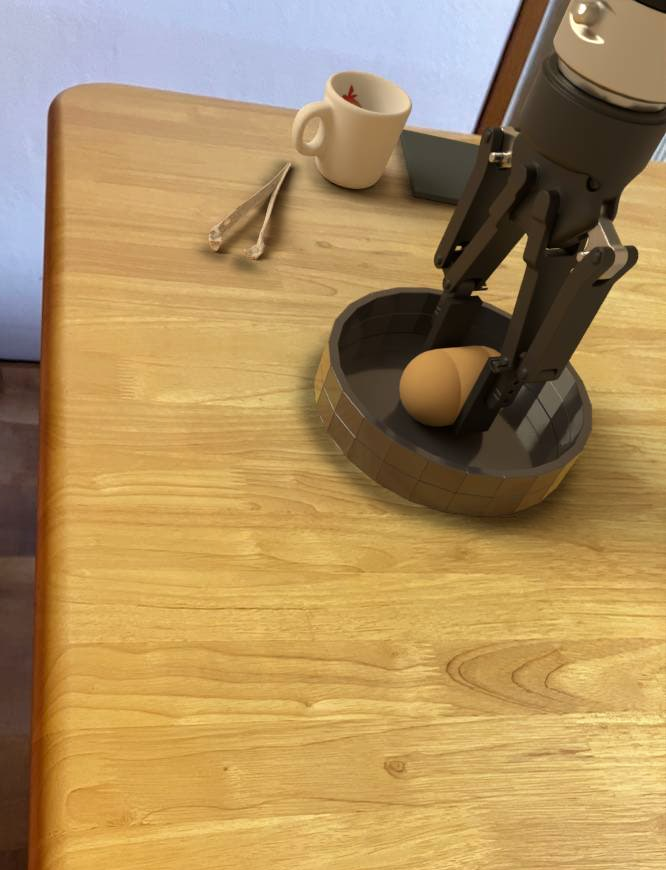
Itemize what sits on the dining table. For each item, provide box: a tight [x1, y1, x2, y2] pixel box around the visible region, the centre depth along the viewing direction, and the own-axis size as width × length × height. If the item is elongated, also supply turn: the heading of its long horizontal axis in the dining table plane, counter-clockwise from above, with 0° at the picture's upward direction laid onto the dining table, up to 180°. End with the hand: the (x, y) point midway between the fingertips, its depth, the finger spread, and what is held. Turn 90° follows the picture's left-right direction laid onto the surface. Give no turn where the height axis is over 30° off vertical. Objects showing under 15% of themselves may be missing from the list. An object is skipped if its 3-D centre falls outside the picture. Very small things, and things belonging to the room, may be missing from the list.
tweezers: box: [208, 161, 292, 260], centre depth 78 cm, size 17×5×2 cm, turn 162°
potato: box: [399, 346, 504, 426], centre depth 63 cm, size 9×5×5 cm, turn 111°
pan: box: [313, 286, 593, 517], centre depth 64 cm, size 19×19×4 cm
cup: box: [291, 70, 413, 190], centre depth 81 cm, size 11×8×8 cm
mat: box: [399, 128, 480, 206], centre depth 90 cm, size 16×12×1 cm
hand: (450, 399), depth 64 cm, fingers closed on potato, 5 cm apart
